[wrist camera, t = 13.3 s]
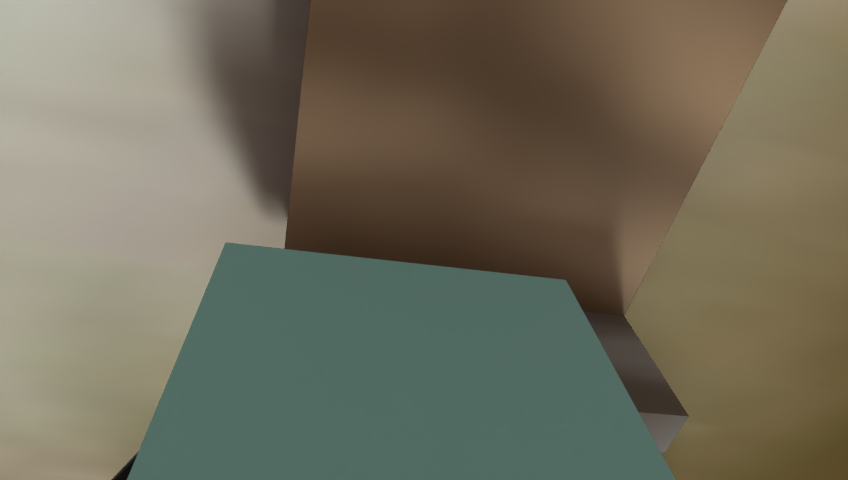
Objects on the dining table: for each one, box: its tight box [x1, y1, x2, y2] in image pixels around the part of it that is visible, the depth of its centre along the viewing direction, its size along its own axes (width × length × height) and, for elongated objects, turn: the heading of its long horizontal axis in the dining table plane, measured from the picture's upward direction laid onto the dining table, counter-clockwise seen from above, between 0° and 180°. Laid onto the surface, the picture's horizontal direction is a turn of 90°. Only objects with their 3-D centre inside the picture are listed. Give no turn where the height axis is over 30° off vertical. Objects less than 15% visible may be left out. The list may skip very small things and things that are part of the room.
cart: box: [285, 0, 787, 453], centre depth 14 cm, size 16×12×7 cm
